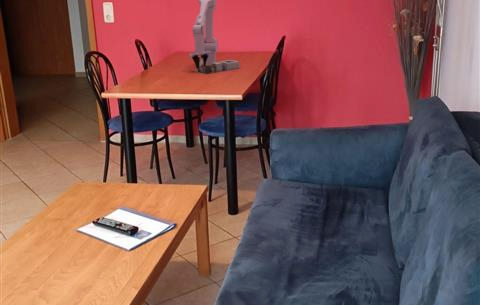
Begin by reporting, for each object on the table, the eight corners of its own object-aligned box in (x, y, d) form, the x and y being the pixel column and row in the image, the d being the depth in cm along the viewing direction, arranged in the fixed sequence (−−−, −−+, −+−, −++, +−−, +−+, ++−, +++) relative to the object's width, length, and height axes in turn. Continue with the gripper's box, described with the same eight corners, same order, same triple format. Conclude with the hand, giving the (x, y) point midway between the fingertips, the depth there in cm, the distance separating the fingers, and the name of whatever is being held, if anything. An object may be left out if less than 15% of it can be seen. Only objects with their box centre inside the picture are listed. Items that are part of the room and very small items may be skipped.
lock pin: (205, 71, 346) (204, 65, 344) (219, 69, 352) (219, 63, 351) (207, 72, 343) (207, 66, 342) (222, 69, 350) (222, 63, 349)
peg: (196, 70, 349) (195, 57, 347) (201, 69, 352) (201, 56, 349) (199, 71, 346) (199, 58, 344) (205, 70, 349) (204, 57, 346)
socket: (219, 68, 355) (218, 61, 354) (230, 66, 360) (230, 59, 359) (227, 70, 348) (227, 63, 347) (239, 68, 353) (239, 61, 352)
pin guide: (212, 69, 350) (211, 62, 349) (217, 69, 352) (217, 62, 351) (217, 71, 346) (216, 64, 344) (222, 70, 348) (222, 63, 347)
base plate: (191, 72, 350) (191, 70, 350) (226, 66, 365) (226, 64, 365) (206, 76, 338) (206, 74, 338) (241, 69, 353) (241, 68, 352)
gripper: (192, 46, 337) (194, 69, 341) (213, 44, 345) (214, 66, 349) (186, 45, 342) (187, 68, 347) (206, 42, 350) (207, 65, 355)
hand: (200, 67), depth 348 cm, fingers closed on peg, 4 cm apart
